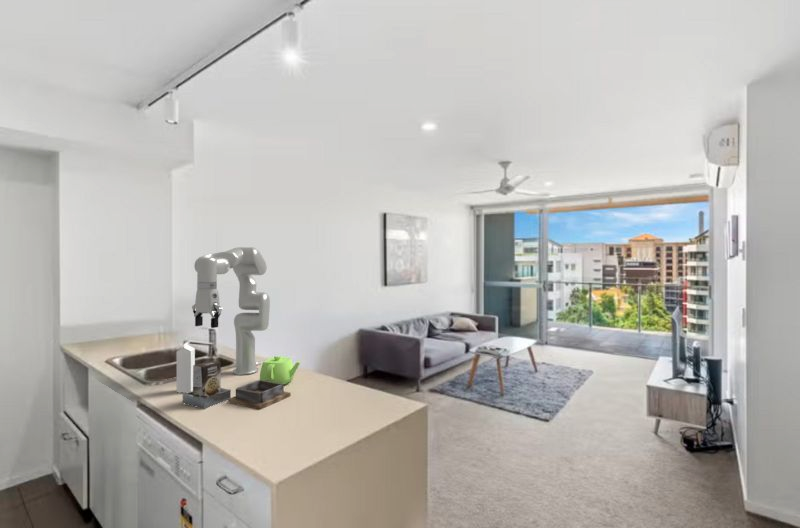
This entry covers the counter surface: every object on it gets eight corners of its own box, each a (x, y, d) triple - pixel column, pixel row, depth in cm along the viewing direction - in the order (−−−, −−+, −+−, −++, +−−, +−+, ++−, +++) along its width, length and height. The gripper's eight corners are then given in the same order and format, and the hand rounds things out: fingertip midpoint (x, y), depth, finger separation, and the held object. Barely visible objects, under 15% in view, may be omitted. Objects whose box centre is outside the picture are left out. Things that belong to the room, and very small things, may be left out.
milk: (176, 393, 181) (176, 344, 180) (181, 389, 187) (180, 341, 186) (191, 392, 182) (190, 344, 182) (195, 388, 188) (194, 341, 188)
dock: (259, 390, 186) (260, 378, 186) (290, 395, 178) (290, 383, 178) (228, 402, 170) (228, 389, 170) (260, 409, 162) (260, 395, 162)
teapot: (306, 377, 207) (306, 352, 206) (292, 390, 187) (292, 361, 187) (271, 376, 208) (271, 351, 208) (253, 388, 188) (253, 360, 188)
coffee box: (203, 406, 166) (203, 366, 165) (192, 403, 168) (192, 365, 168) (221, 399, 174) (221, 361, 174) (210, 397, 177) (210, 360, 176)
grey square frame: (209, 394, 180) (209, 385, 180) (230, 399, 174) (230, 389, 174) (182, 403, 168) (182, 394, 168) (204, 409, 162) (204, 399, 162)
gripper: (228, 286, 172) (228, 326, 172) (200, 285, 180) (200, 324, 179) (213, 287, 165) (213, 329, 165) (185, 286, 173) (185, 326, 173)
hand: (206, 326), depth 172 cm, fingers open, 9 cm apart
